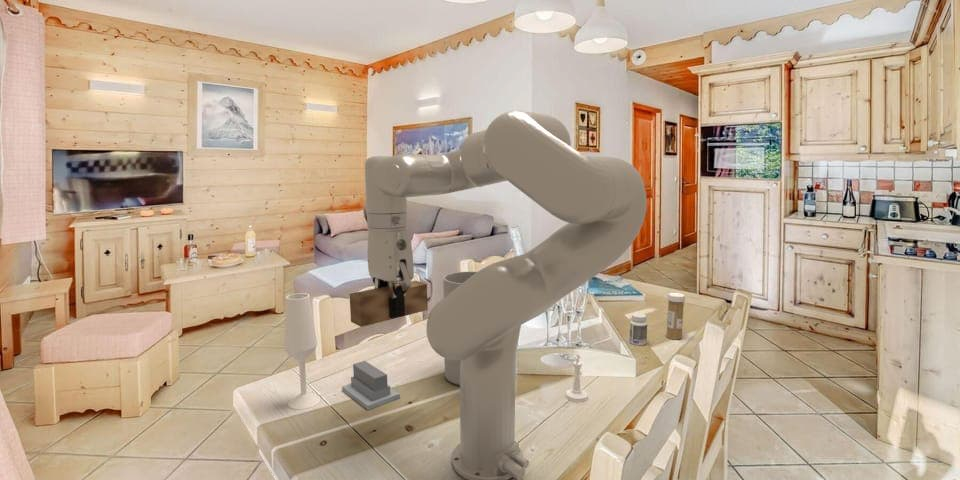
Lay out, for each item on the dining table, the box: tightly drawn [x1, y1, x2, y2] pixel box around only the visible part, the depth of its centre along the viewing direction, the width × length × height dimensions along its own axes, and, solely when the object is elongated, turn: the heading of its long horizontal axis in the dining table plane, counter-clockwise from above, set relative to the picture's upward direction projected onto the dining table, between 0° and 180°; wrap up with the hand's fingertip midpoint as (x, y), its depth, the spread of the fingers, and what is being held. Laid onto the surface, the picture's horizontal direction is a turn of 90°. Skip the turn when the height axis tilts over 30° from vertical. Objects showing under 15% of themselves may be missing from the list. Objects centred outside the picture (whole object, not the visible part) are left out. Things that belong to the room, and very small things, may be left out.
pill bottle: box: [629, 312, 648, 346], centre depth 139 cm, size 5×5×8 cm
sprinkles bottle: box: [665, 292, 686, 341], centre depth 143 cm, size 5×5×14 cm
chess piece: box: [565, 353, 589, 403], centre depth 107 cm, size 5×5×10 cm
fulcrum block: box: [341, 360, 401, 411], centre depth 108 cm, size 12×8×6 cm, turn 42°
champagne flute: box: [283, 292, 321, 410], centre depth 104 cm, size 7×7×24 cm
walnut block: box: [349, 280, 428, 328], centre depth 94 cm, size 15×4×6 cm, turn 132°
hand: (390, 312), depth 94 cm, fingers closed on walnut block, 4 cm apart
